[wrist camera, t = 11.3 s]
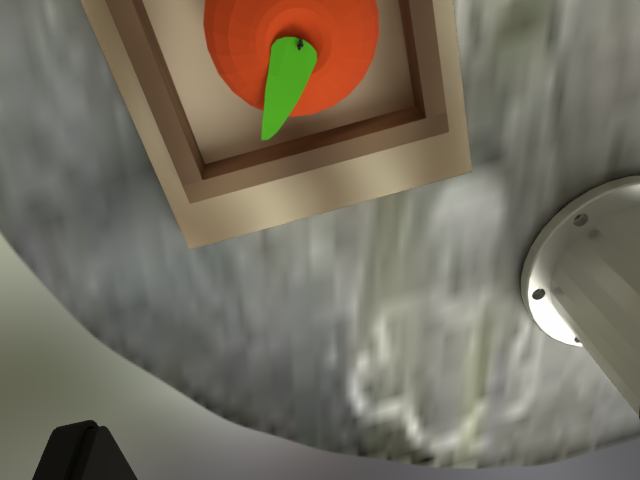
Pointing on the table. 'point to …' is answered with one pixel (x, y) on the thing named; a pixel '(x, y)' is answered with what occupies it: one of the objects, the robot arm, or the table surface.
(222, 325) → the table surface
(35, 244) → the table surface
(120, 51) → the board
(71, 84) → the table surface
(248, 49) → the clementine
